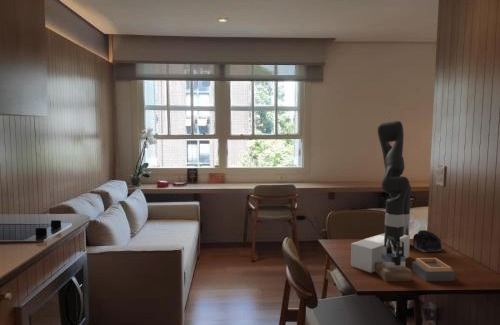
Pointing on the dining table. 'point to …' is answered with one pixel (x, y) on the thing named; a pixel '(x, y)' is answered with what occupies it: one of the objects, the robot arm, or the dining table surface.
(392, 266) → the housing base plate
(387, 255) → the block
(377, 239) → the long white block
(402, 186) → the robot arm
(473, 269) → the dining table surface
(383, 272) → the walnut stand
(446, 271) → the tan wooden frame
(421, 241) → the crystal cluster
